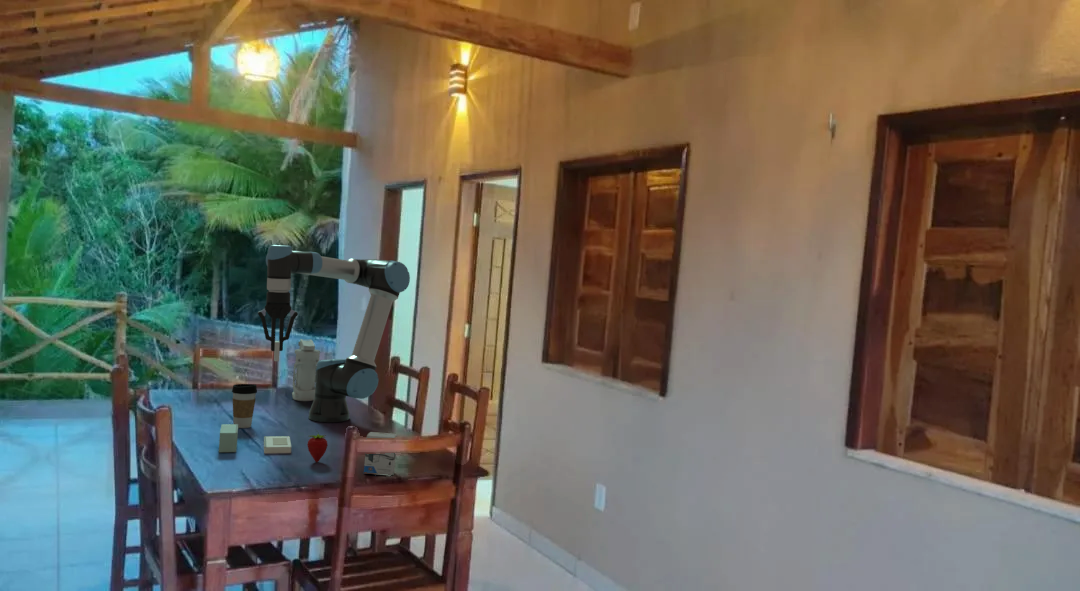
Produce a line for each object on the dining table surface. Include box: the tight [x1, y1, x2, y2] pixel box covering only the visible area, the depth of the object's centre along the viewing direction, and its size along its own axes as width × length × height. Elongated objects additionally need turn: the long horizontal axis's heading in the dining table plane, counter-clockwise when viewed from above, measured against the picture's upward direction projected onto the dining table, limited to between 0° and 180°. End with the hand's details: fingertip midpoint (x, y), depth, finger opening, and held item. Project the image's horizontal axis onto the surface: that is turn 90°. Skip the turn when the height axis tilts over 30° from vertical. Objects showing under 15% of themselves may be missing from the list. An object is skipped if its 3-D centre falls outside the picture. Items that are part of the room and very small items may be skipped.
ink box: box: [363, 431, 398, 475], centre depth 226 cm, size 9×5×12 cm, turn 92°
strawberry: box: [307, 429, 328, 463], centre depth 233 cm, size 6×8×10 cm
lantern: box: [291, 338, 321, 402], centre depth 330 cm, size 13×10×25 cm
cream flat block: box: [263, 435, 292, 454], centre depth 246 cm, size 8×14×2 cm, turn 20°
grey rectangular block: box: [218, 423, 239, 453], centre depth 241 cm, size 5×12×6 cm, turn 20°
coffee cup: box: [231, 383, 258, 429], centre depth 271 cm, size 8×8×15 cm
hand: (276, 360), depth 258 cm, fingers closed
